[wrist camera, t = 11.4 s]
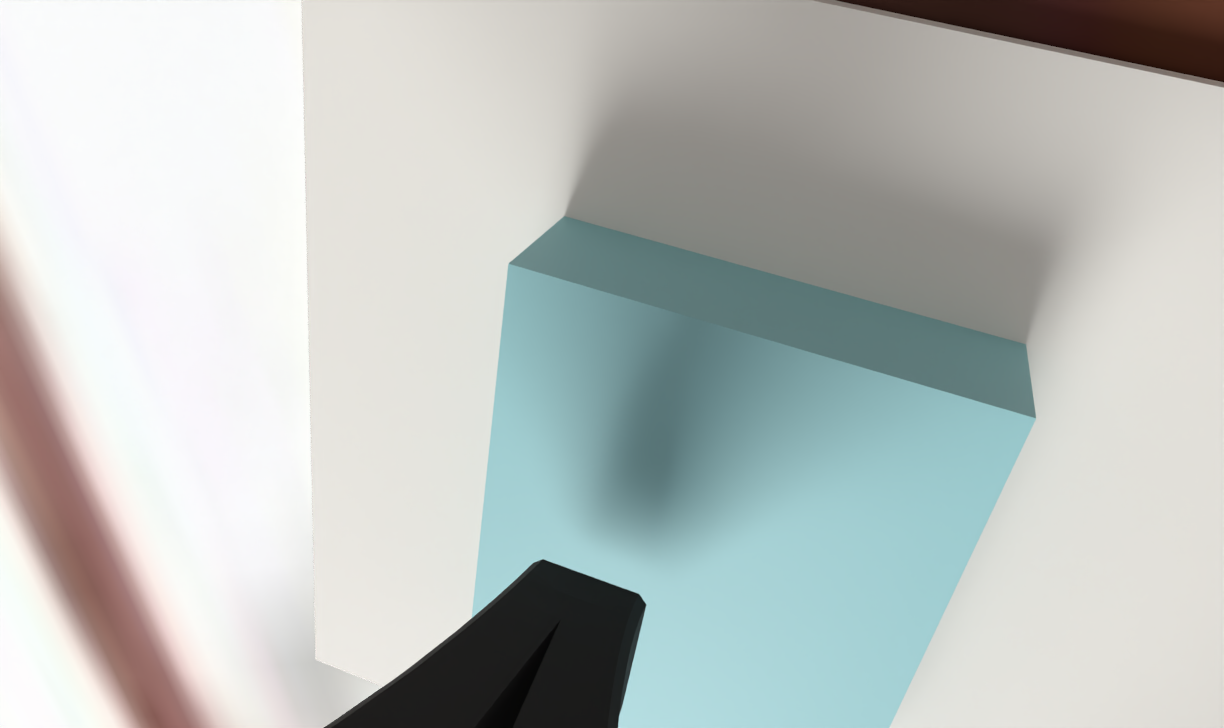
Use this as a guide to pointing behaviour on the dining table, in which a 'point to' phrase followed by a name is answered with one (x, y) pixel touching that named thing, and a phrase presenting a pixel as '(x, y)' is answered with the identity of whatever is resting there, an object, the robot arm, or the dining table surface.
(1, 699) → the dining table surface
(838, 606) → the slab
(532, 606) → the robot arm
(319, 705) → the dining table surface
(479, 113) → the mat
